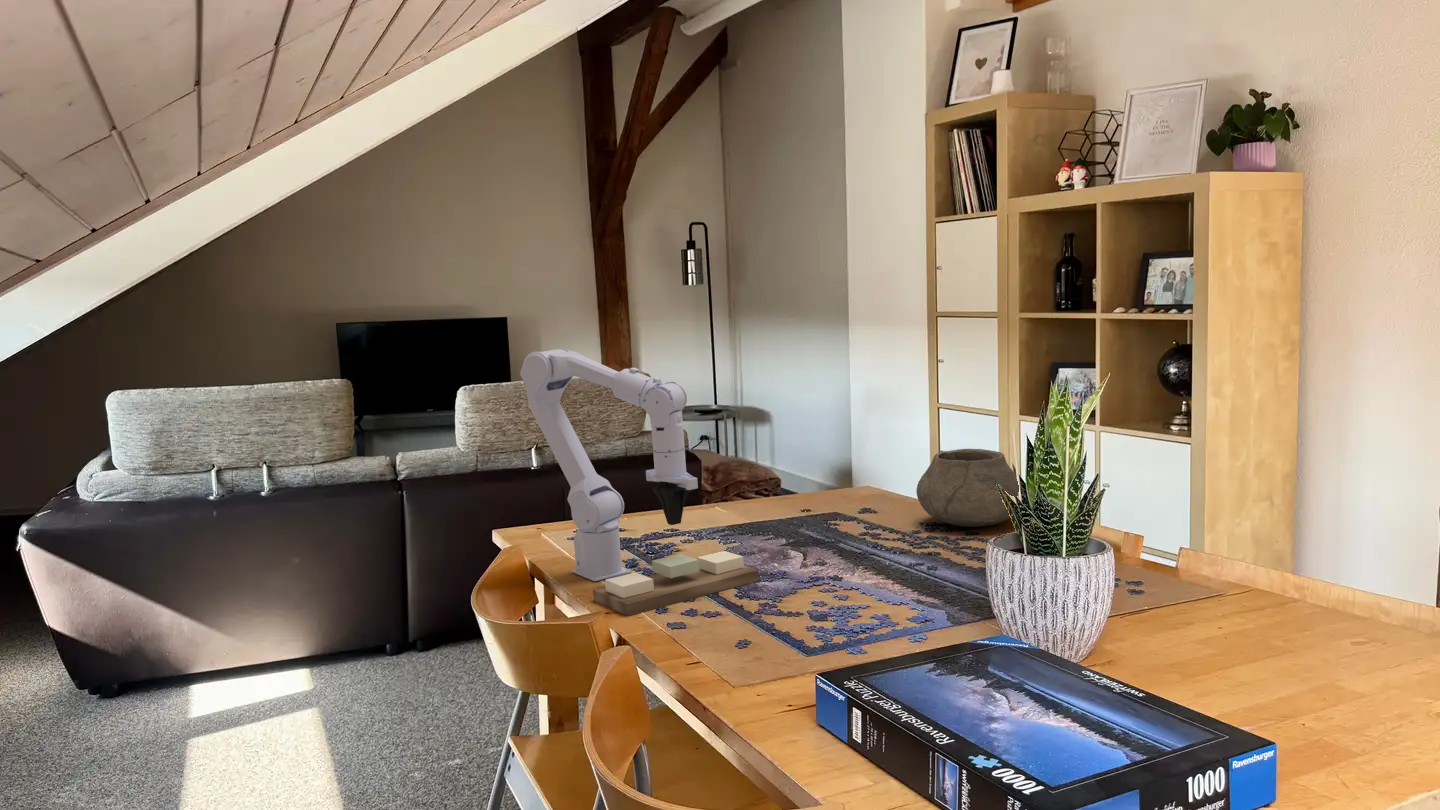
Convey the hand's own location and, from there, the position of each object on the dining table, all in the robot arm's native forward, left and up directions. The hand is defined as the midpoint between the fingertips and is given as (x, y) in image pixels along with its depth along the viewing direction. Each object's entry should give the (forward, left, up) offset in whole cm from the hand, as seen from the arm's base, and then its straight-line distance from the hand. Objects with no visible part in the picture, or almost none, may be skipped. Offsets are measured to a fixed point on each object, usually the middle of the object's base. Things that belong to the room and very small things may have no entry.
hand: (674, 523), depth 190 cm
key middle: (+6, -4, -7) cm, 10 cm away
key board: (+6, -4, -10) cm, 13 cm away
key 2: (+6, +5, -8) cm, 12 cm away
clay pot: (+12, +65, -11) cm, 67 cm away
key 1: (+6, -13, -8) cm, 17 cm away
